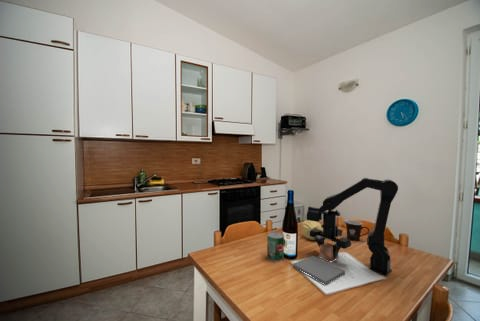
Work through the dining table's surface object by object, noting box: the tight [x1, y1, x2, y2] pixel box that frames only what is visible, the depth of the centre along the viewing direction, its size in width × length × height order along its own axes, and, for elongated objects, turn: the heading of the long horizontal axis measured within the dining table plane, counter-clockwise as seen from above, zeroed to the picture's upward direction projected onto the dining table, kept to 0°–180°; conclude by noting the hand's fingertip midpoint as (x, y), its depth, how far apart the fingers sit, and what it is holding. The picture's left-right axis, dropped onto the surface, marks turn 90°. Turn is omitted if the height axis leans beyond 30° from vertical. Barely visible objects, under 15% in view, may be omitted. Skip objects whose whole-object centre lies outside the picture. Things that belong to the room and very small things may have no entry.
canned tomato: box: [266, 231, 285, 262], centre depth 103 cm, size 8×8×11 cm
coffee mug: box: [345, 219, 370, 242], centre depth 125 cm, size 12×9×10 cm
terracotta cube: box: [318, 242, 339, 262], centre depth 102 cm, size 6×6×6 cm
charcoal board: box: [292, 255, 346, 286], centre depth 91 cm, size 16×14×2 cm
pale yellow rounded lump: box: [301, 220, 323, 241], centre depth 127 cm, size 11×12×11 cm
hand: (328, 255), depth 102 cm, fingers closed on terracotta cube, 6 cm apart
